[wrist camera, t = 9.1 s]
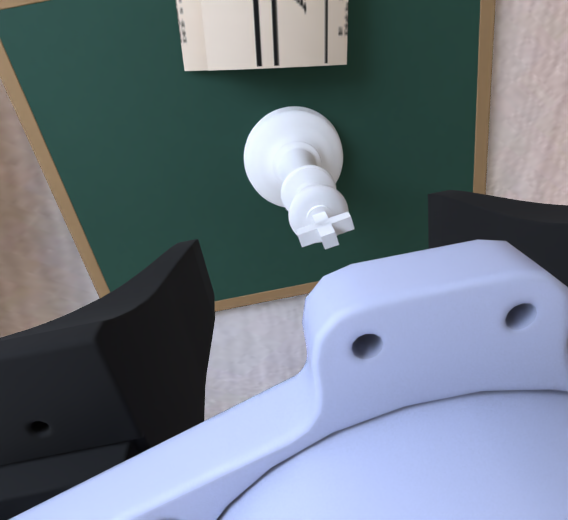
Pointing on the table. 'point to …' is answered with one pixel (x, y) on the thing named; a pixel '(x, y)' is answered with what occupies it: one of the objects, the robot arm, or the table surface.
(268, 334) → the table surface
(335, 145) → the chess piece
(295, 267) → the desk mat
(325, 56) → the newspaper
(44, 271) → the table surface
